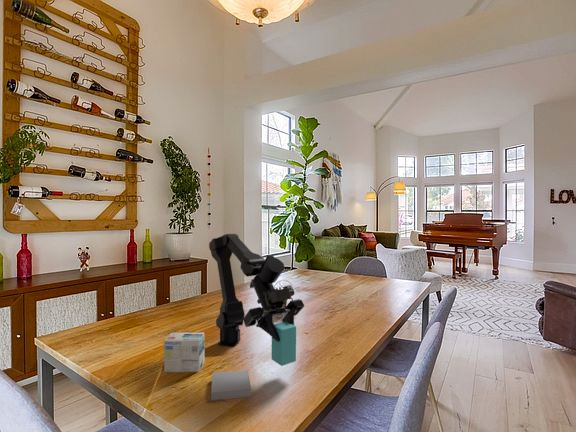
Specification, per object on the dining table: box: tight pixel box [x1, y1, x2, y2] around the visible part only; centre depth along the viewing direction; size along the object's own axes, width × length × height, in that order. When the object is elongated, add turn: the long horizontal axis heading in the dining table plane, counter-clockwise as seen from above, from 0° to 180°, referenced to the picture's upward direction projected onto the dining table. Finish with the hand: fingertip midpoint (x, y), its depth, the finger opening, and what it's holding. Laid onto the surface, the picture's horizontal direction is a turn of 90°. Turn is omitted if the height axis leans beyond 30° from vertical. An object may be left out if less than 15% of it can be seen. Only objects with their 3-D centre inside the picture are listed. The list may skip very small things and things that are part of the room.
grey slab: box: [210, 369, 252, 400], centre depth 89 cm, size 10×10×2 cm
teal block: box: [271, 321, 297, 367], centre depth 94 cm, size 5×5×10 cm
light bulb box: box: [163, 331, 205, 373], centre depth 100 cm, size 11×7×11 cm, turn 92°
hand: (286, 338), depth 93 cm, fingers closed on teal block, 5 cm apart
